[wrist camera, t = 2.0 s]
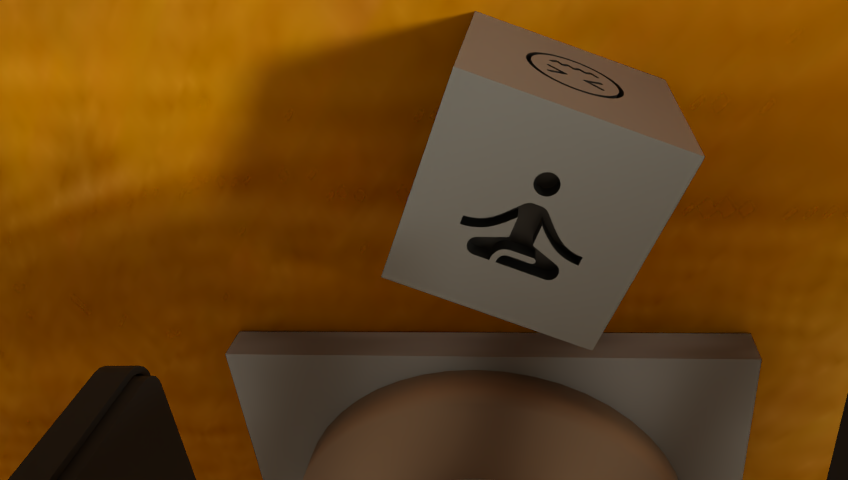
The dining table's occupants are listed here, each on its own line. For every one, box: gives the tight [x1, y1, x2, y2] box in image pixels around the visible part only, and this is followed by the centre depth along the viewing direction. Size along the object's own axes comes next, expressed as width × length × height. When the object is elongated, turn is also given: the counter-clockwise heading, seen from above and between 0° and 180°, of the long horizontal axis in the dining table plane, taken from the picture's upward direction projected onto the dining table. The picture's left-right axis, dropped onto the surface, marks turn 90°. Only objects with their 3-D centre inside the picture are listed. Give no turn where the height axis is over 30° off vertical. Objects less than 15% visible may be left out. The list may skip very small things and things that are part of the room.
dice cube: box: [381, 11, 705, 350], centre depth 16 cm, size 5×5×5 cm
